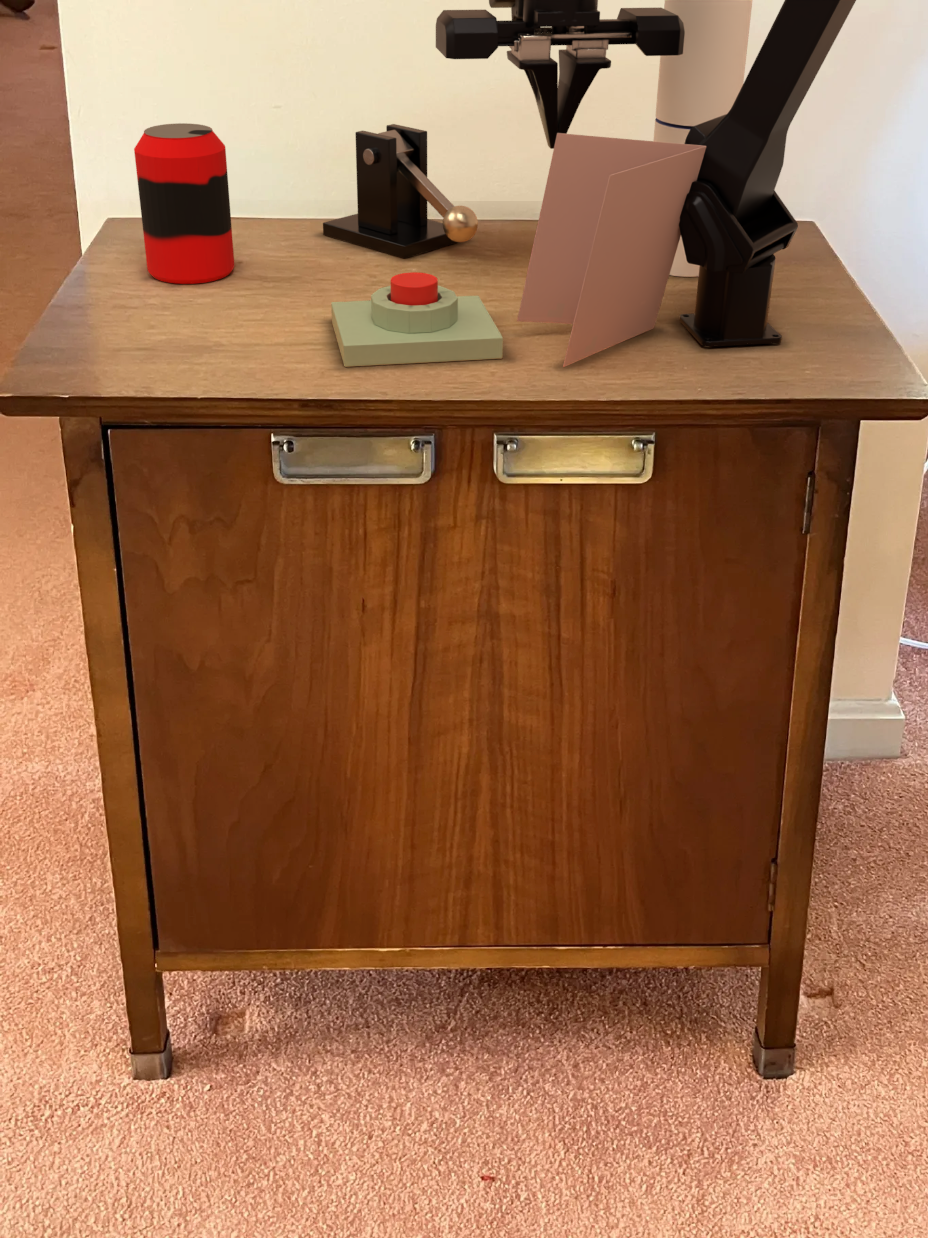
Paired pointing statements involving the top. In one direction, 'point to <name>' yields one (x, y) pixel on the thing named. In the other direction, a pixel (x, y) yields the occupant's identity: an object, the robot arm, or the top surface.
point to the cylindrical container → (701, 76)
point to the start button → (414, 289)
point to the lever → (435, 195)
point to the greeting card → (607, 237)
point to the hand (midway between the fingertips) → (554, 147)
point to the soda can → (184, 203)
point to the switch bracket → (389, 199)
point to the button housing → (415, 330)
